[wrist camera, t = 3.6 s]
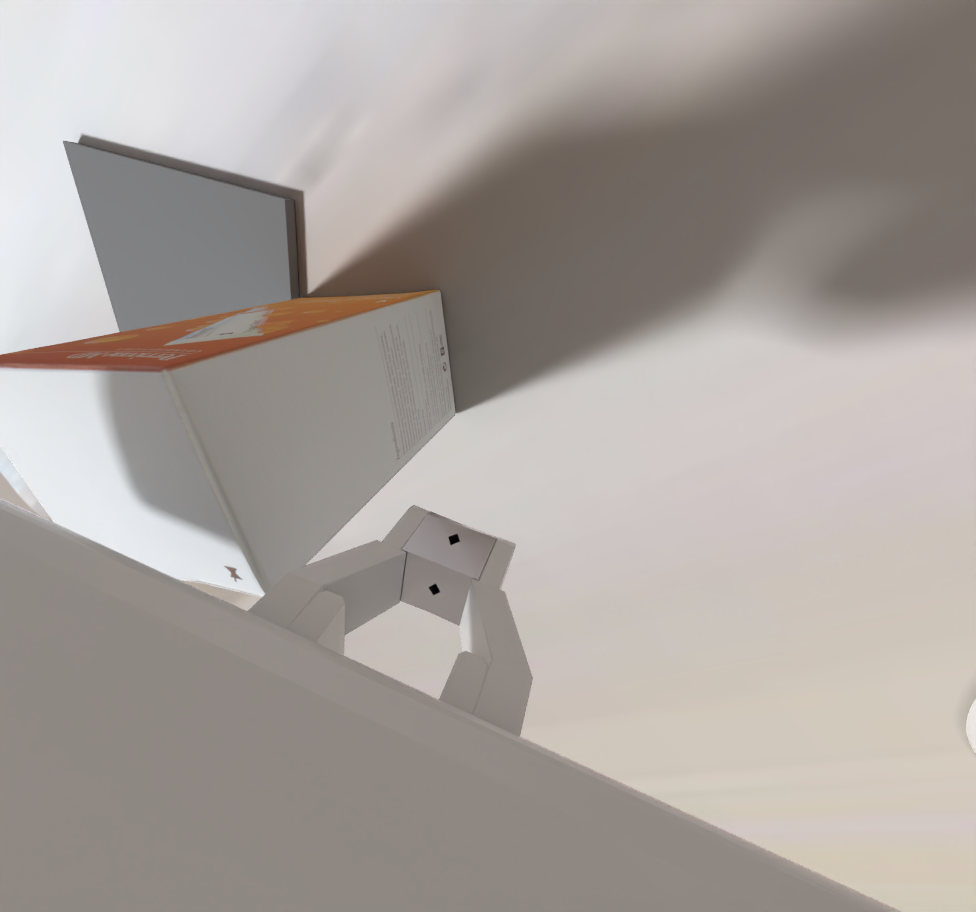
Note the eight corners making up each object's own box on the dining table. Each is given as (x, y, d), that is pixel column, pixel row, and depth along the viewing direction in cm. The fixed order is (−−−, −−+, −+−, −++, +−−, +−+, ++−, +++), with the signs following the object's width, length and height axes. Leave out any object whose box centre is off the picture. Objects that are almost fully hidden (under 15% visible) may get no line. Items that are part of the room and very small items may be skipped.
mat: (294, 200, 18) (284, 199, 18) (306, 425, 25) (299, 429, 24) (76, 143, 20) (62, 140, 20) (139, 364, 27) (130, 367, 26)
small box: (443, 286, 18) (160, 366, 7) (458, 416, 21) (273, 609, 10) (299, 294, 21) (-72, 362, 10) (331, 409, 24) (74, 560, 13)
